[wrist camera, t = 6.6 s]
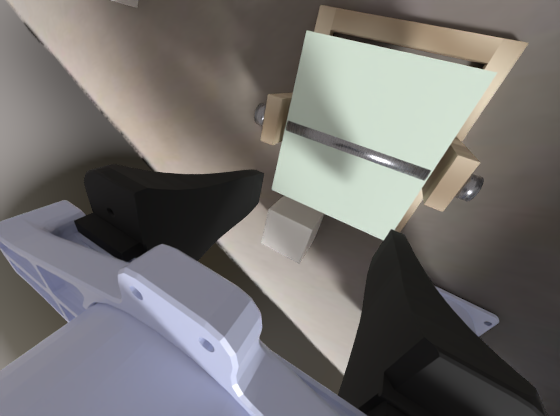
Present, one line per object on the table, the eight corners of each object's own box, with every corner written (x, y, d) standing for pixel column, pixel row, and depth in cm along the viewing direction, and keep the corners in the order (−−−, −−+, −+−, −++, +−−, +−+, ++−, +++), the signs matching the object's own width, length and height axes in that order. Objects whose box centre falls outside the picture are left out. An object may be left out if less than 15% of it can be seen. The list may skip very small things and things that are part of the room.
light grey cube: (314, 239, 26) (299, 263, 22) (280, 222, 27) (261, 243, 24) (326, 208, 23) (312, 230, 20) (288, 191, 25) (268, 208, 21)
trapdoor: (388, 224, 17) (386, 242, 15) (284, 179, 19) (270, 190, 18) (482, 74, 11) (498, 72, 10) (320, 37, 14) (305, 30, 12)
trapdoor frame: (406, 231, 21) (405, 280, 15) (277, 175, 24) (242, 200, 19) (535, 47, 13) (621, 21, 8) (316, 6, 16) (273, -30, 11)
